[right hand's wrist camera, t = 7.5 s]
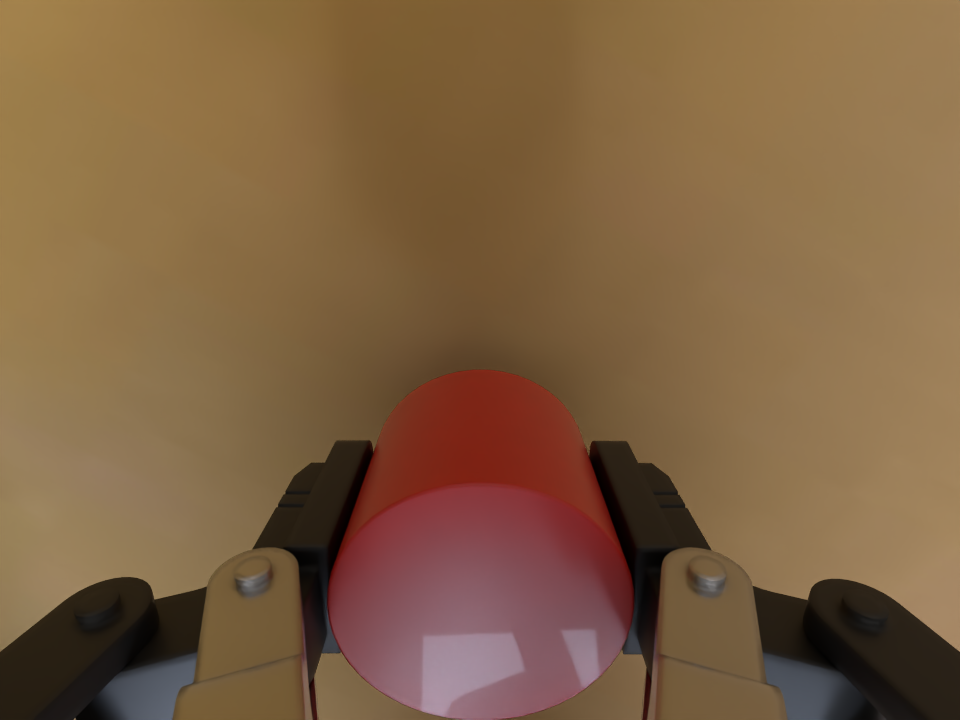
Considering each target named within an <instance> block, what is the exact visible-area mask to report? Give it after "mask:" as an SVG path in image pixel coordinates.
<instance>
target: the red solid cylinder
mask: <svg viewBox="0 0 960 720" xmlns="http://www.w3.org/2000/svg"><path fill="white" fill-rule="evenodd" d="M327 610H328V618H329V623H330V626H331V629H332V633H333V636H334V638H335V640H336V642H337V645H338V647H339V649H340V651H341V652H342V654H343V655H344V657H345V658H346V660H347V661H348V663H349V664H350V665H351V666H352V667H353V668H354V669H355V671H356V672H357V673H358V674H359V675H360V676H361V677H362V678H363V679H365V680H366V681H367V682H368V683H369V684H370V685H371V686H373V687H374V688H376V689H377V690H379V691H380V692H382V693H383V694H384V695H386V696H388V697H390V698H392V699H393V700H395V701H397V702H399V703H401V704H403V705H406V706H408V707H411V708H413V709H416V710H418V711H422V712H425V713H428V714H432V715H436V716H441V717H446V718H451V719H460V720H501V719H510V718H515V717H521V716H526V715H529V714H533V713H536V712H540V711H543V710H545V709H548V708H551V707H553V706H556V705H558V704H560V703H562V702H564V701H566V700H568V699H570V698H572V697H574V696H575V695H577V694H578V693H580V692H581V691H583V690H584V689H586V688H587V687H589V686H590V685H591V684H592V683H593V682H594V681H596V680H597V679H598V678H599V677H600V676H601V675H602V674H603V673H604V672H605V671H606V670H607V669H608V668H609V666H610V665H611V664H612V663H613V661H614V660H615V658H616V657H617V656H618V654H619V653H620V651H621V649H622V647H623V645H624V643H625V641H626V639H627V637H628V634H629V631H630V627H631V624H632V620H633V613H634V587H633V582H632V577H631V573H630V570H629V567H628V564H627V562H626V559H625V556H624V553H623V550H622V548H621V545H620V542H619V539H618V537H617V534H616V531H615V528H614V525H613V523H612V520H611V517H610V514H609V511H608V509H607V506H606V503H605V500H604V497H603V495H602V492H601V489H600V486H599V483H598V481H597V478H596V475H595V472H594V469H593V467H592V464H591V461H590V458H589V456H588V453H587V450H586V447H585V444H584V442H583V439H582V436H581V433H580V431H579V428H578V426H577V424H576V422H575V420H574V419H573V417H572V415H571V414H570V413H569V411H568V410H567V409H566V407H565V406H564V405H563V404H562V403H561V402H560V401H559V400H558V399H557V398H556V397H555V396H554V395H553V394H551V393H550V392H548V391H547V390H546V389H544V388H543V387H541V386H540V385H538V384H536V383H534V382H532V381H530V380H528V379H525V378H523V377H520V376H518V375H514V374H510V373H506V372H502V371H494V370H467V371H459V372H455V373H451V374H447V375H444V376H441V377H438V378H436V379H433V380H431V381H429V382H427V383H425V384H423V385H421V386H419V387H418V388H417V389H415V390H414V391H412V392H411V393H410V394H408V395H407V396H406V397H405V398H404V399H403V400H402V401H401V402H400V403H399V404H398V405H397V406H396V407H395V409H394V410H393V411H392V412H391V414H390V415H389V417H388V419H387V420H386V422H385V424H384V426H383V428H382V431H381V433H380V436H379V438H378V441H377V444H376V447H375V450H374V453H373V455H372V458H371V461H370V464H369V467H368V469H367V472H366V475H365V478H364V481H363V484H362V486H361V489H360V492H359V495H358V498H357V500H356V503H355V506H354V509H353V512H352V515H351V517H350V520H349V523H348V526H347V529H346V531H345V534H344V537H343V540H342V543H341V546H340V548H339V551H338V554H337V557H336V560H335V562H334V565H333V568H332V571H331V575H330V579H329V584H328V589H327Z"/></svg>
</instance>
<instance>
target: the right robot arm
mask: <svg viewBox="0 0 960 720" xmlns="http://www.w3.org/2000/svg"><path fill="white" fill-rule="evenodd" d="M372 455H373V447H372V443H371V441H336V442H335V444H334V446H333V448H332V450H331V452H330V454H329V456H328V458H327V460H326V462H325V463H310V464H309V465H308V466H307V467H305V468H304V469H303V470H301V471H300V472H299V473H298V474H296V475H295V476H294V477H293V479H292V481H291V483H290V484H289V486H288V488H287V490H286V493H285V494H284V495H283V497H282V498H281V500H280V502H279V504H278V507H276V509H275V511H274V512H273V514H272V516H271V518H270V519H269V521H268V523H267V525H266V526H265V528H264V530H263V532H262V533H261V535H260V537H259V539H258V540H257V542H256V544H255V546H254V547H253V549H252V550H249V551H246V552H243V553H241V554H239V555H236V556H234V557H233V558H231V559H229V560H228V561H226V562H225V563H224V564H222V565H221V566H220V567H219V568H218V569H217V570H216V571H215V572H214V573H213V575H212V576H211V578H210V580H209V582H208V586H207V587H204V588H201V589H198V590H194V591H190V592H186V593H182V594H177V595H173V596H169V597H164V598H160V599H156V600H154V596H153V593H152V589H151V587H150V585H149V584H148V583H147V582H145V581H144V580H141V579H138V578H133V577H121V578H114V579H109V580H105V581H102V582H99V583H96V584H94V585H91V586H89V587H87V588H85V589H83V590H81V591H79V592H77V593H75V594H74V595H72V596H71V597H69V598H68V599H66V600H65V601H64V602H62V603H61V604H60V605H59V606H57V607H56V608H55V609H54V610H52V611H51V612H50V613H49V614H47V615H46V616H45V617H44V618H42V619H41V620H40V621H39V622H37V623H36V624H35V625H34V626H32V627H31V628H30V629H29V630H27V631H26V632H25V633H24V634H22V635H21V636H20V637H19V638H17V639H16V640H15V641H14V642H12V643H11V644H10V645H8V646H7V647H6V648H5V649H3V650H2V651H1V652H0V720H73V719H74V718H76V720H319V714H318V702H317V690H316V682H315V672H316V669H317V666H318V663H319V659H320V656H321V653H340V652H341V651H340V649H339V647H338V645H337V642H336V640H335V638H334V636H333V633H332V629H331V626H330V623H329V618H328V610H327V589H328V584H329V579H330V575H331V571H332V568H333V565H334V562H335V560H336V557H337V554H338V551H339V548H340V546H341V543H342V540H343V537H344V534H345V531H346V529H347V526H348V523H349V520H350V517H351V515H352V512H353V509H354V506H355V503H356V500H357V498H358V495H359V492H360V489H361V486H362V484H363V481H364V478H365V475H366V472H367V469H368V467H369V464H370V461H371V458H372ZM589 458H590V461H591V464H592V467H593V469H594V472H595V475H596V478H597V481H598V483H599V486H600V489H601V492H602V495H603V497H604V500H605V503H606V506H607V509H608V511H609V514H610V517H611V520H612V523H613V525H614V528H615V531H616V534H617V537H618V539H619V542H620V545H621V548H622V550H623V553H624V556H625V559H626V562H627V564H628V567H629V570H630V573H631V577H632V582H633V587H634V613H633V620H632V624H631V627H630V631H629V634H628V637H627V639H626V641H625V643H624V645H623V647H622V651H623V654H642V655H643V658H644V661H645V664H646V667H647V668H646V675H645V682H644V690H643V702H642V714H641V720H960V652H959V651H958V650H957V649H955V648H954V647H953V646H952V645H950V644H949V643H948V642H947V641H945V640H944V639H943V638H941V637H940V636H939V635H938V634H936V633H935V632H934V631H933V630H931V629H930V628H929V627H928V626H926V625H925V624H924V623H923V622H921V621H920V620H919V619H918V618H916V617H915V616H914V615H913V614H911V613H910V612H909V611H908V610H906V609H905V608H904V607H903V606H901V605H900V604H899V603H898V602H896V601H895V600H893V599H892V598H890V597H889V596H887V595H886V594H884V593H882V592H880V591H878V590H876V589H874V588H872V587H869V586H867V585H864V584H861V583H858V582H854V581H850V580H843V579H827V580H823V581H820V582H818V583H816V584H815V585H814V586H813V587H812V589H811V591H810V594H809V598H808V600H804V599H800V598H796V597H791V596H787V595H783V594H779V593H774V592H770V591H767V590H763V589H760V588H757V587H755V586H752V582H751V580H750V578H749V576H748V575H747V573H746V572H745V571H744V570H743V569H742V568H741V567H740V566H739V565H738V564H736V563H735V562H734V561H732V560H731V559H729V558H727V557H726V556H724V555H721V554H719V553H717V552H714V551H712V550H711V548H710V547H709V545H708V543H707V542H706V540H705V538H704V536H703V535H702V533H701V531H700V529H699V528H698V526H697V524H696V523H695V521H694V519H693V517H692V516H691V514H690V512H689V510H688V509H687V508H685V504H684V502H683V500H682V498H681V497H680V495H678V492H677V490H676V488H675V486H674V485H673V483H672V481H671V479H670V478H669V476H667V475H666V474H665V473H664V472H662V471H661V470H660V469H658V468H657V467H656V466H654V465H653V464H652V463H638V462H637V460H636V458H635V456H634V454H633V452H632V450H631V448H630V446H629V444H628V443H627V442H626V441H592V443H591V446H590V454H589Z"/></svg>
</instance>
